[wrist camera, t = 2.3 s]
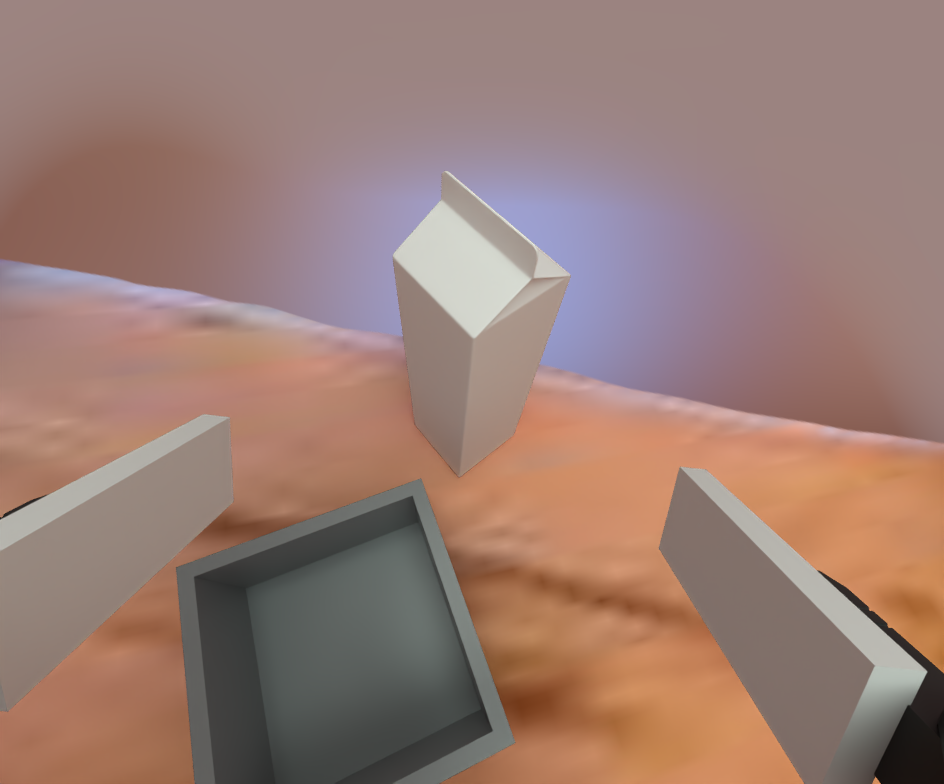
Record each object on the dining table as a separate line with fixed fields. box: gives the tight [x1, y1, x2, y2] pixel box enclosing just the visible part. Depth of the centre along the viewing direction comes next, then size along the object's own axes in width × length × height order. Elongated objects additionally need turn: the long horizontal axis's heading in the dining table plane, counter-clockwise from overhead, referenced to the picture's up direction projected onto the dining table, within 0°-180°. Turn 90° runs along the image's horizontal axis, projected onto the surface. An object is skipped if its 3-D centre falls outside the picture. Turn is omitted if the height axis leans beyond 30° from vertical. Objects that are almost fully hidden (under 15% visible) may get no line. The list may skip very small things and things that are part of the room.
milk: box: [393, 171, 571, 477], centre depth 27 cm, size 6×6×22 cm
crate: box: [176, 479, 515, 784], centre depth 25 cm, size 14×14×8 cm
